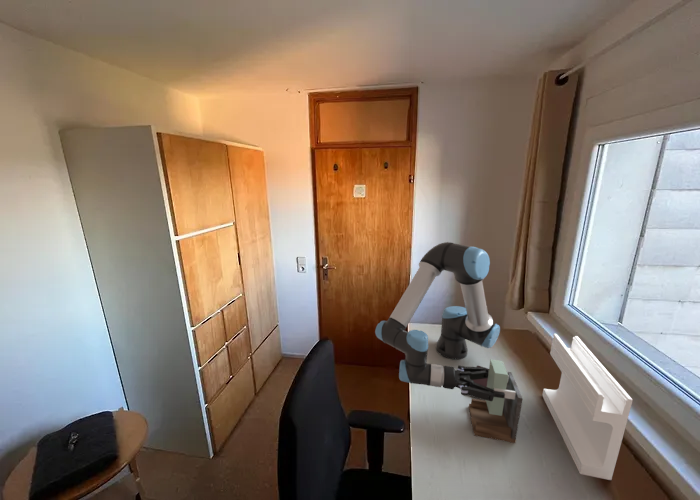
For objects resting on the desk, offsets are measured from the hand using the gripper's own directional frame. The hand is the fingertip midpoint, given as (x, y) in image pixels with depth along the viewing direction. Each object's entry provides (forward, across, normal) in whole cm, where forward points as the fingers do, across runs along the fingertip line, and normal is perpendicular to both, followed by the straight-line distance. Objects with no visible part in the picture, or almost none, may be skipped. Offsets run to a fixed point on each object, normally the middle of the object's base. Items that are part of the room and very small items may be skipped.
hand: (511, 386), depth 108 cm
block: (+22, -3, -17) cm, 28 cm away
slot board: (-5, 0, -16) cm, 17 cm away
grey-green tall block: (-5, 0, -9) cm, 10 cm away
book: (-2, -21, -17) cm, 27 cm away
